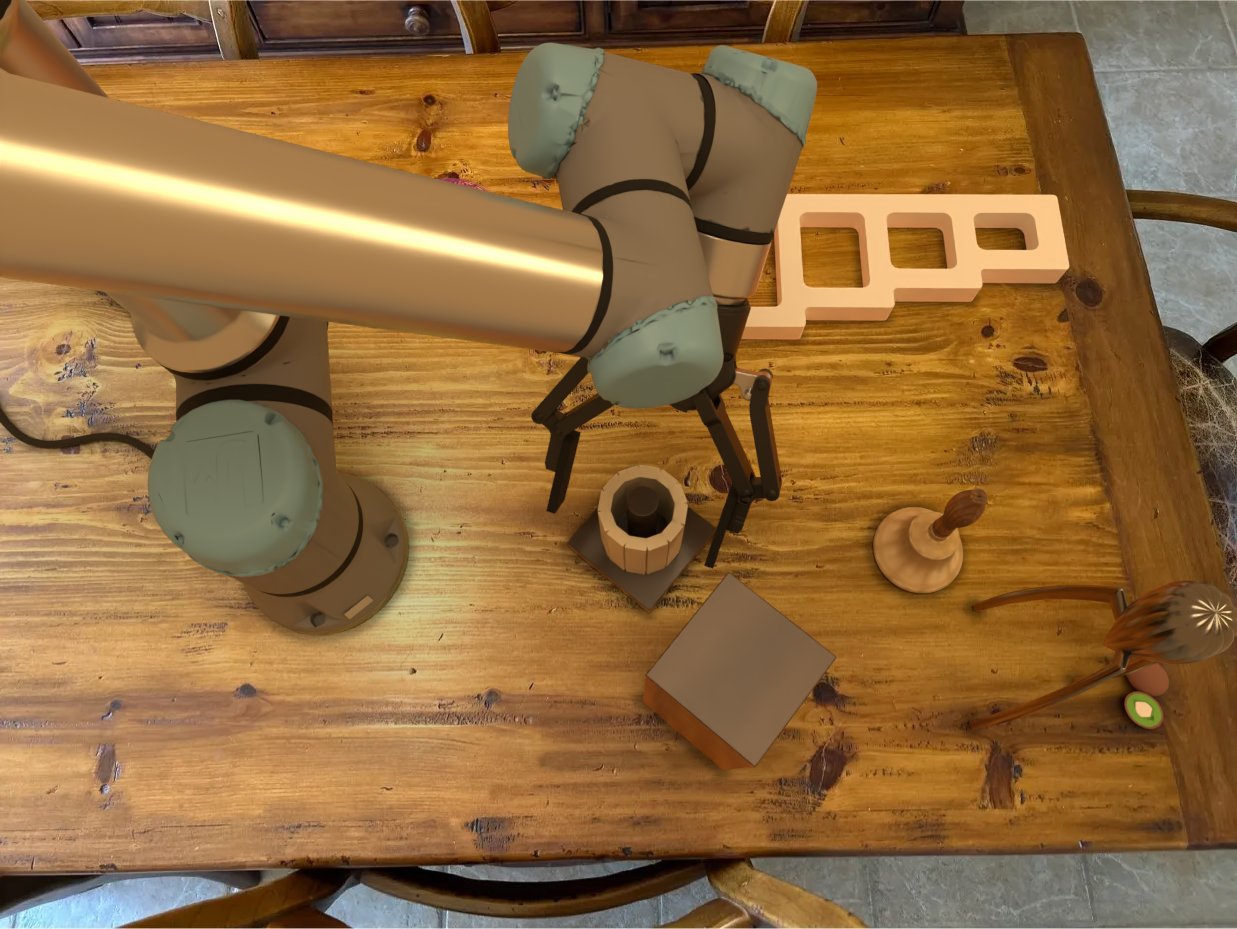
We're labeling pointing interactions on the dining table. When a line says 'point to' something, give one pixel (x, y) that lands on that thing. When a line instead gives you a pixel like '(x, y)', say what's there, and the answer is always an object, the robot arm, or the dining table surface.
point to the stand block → (735, 676)
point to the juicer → (1135, 632)
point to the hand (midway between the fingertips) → (632, 532)
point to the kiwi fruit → (1146, 695)
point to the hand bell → (926, 542)
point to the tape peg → (642, 524)
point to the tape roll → (636, 550)
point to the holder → (907, 285)
